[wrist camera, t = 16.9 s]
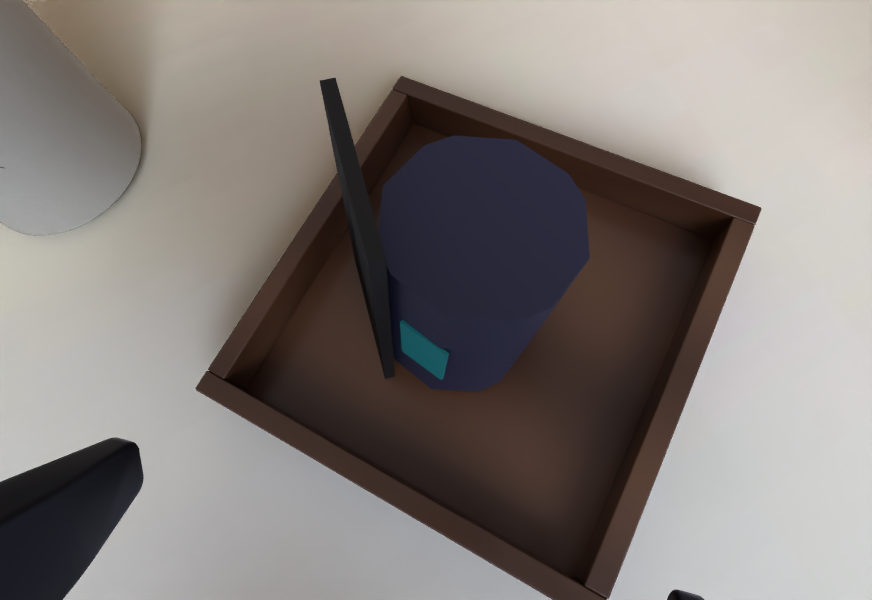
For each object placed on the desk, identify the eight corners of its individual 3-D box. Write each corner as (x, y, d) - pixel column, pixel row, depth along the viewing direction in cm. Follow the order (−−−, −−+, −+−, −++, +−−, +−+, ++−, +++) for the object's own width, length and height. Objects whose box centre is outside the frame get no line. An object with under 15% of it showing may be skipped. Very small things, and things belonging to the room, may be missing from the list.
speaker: (335, 391, 21) (257, 282, 12) (355, 259, 23) (304, 75, 14) (530, 407, 21) (616, 310, 11) (532, 273, 23) (605, 96, 14)
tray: (584, 610, 19) (598, 626, 16) (226, 400, 22) (193, 389, 20) (733, 238, 23) (762, 207, 20) (409, 113, 26) (400, 74, 24)
